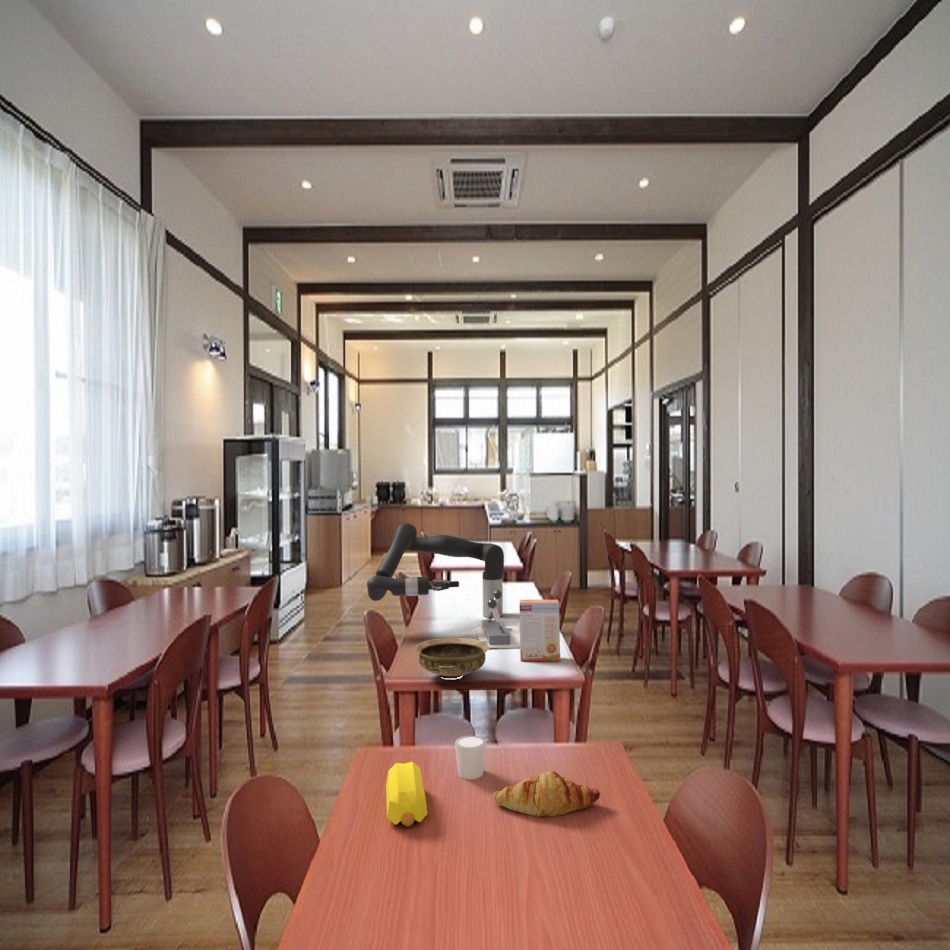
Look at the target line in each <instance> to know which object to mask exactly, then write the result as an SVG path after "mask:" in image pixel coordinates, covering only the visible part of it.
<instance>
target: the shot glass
mask: <svg viewBox="0 0 950 950" xmlns="http://www.w3.org/2000/svg"><path fill="white" fill-rule="evenodd" d="M486 746H487V741H486V740H485V739H484V738H483V737H482V736H481V737H480V736H478V735H464V736H461V737H459V738H457V739H455V742H454V747H455V755H456V756H455V757H456V765H457V775H458V777H460V778H462V779H463V780H464V779H465V780H477V779H479V778H481V777H483V775H484V773H485V761H486V760H485V759H486Z"/></svg>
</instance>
